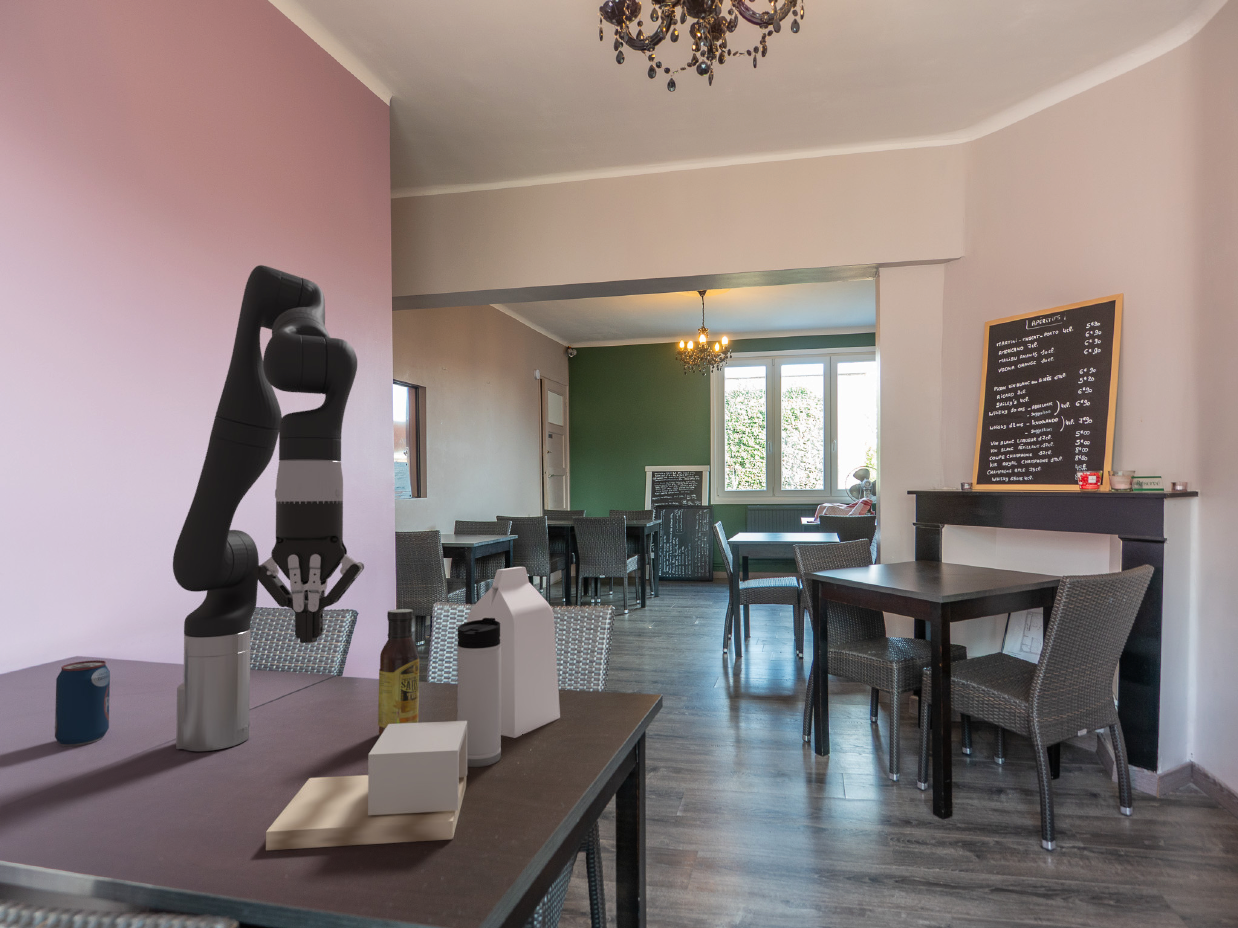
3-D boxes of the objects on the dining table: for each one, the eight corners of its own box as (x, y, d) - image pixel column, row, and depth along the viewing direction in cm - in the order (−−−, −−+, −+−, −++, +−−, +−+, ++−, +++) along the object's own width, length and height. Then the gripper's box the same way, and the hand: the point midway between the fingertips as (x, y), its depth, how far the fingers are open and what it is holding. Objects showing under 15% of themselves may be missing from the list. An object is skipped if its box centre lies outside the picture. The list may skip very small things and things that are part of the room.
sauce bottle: (406, 741, 113) (407, 614, 113) (370, 739, 114) (371, 613, 115) (425, 728, 119) (426, 607, 120) (391, 726, 120) (391, 606, 121)
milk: (514, 737, 114) (514, 573, 115) (461, 725, 120) (462, 569, 121) (560, 717, 124) (559, 566, 126) (509, 707, 131) (508, 563, 132)
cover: (368, 815, 82) (368, 754, 82) (388, 777, 93) (388, 723, 93) (457, 810, 83) (457, 750, 83) (467, 773, 94) (467, 720, 94)
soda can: (118, 736, 117) (119, 661, 117) (70, 750, 110) (72, 671, 111) (92, 730, 119) (94, 657, 120) (44, 743, 113) (46, 666, 114)
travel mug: (509, 753, 107) (509, 618, 108) (487, 769, 101) (487, 626, 102) (472, 749, 109) (472, 616, 110) (448, 764, 103) (448, 623, 104)
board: (265, 850, 78) (266, 789, 79) (309, 793, 93) (310, 742, 94) (452, 838, 81) (452, 780, 81) (466, 785, 96) (466, 735, 96)
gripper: (373, 497, 92) (372, 634, 91) (265, 498, 91) (263, 637, 90) (358, 498, 85) (357, 646, 84) (240, 499, 83) (238, 650, 83)
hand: (308, 641), depth 87 cm, fingers closed
